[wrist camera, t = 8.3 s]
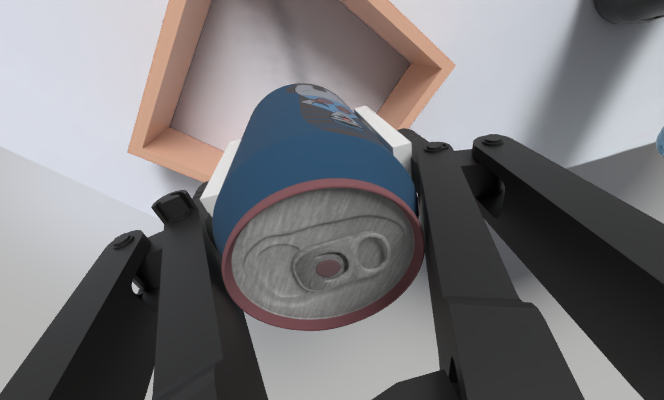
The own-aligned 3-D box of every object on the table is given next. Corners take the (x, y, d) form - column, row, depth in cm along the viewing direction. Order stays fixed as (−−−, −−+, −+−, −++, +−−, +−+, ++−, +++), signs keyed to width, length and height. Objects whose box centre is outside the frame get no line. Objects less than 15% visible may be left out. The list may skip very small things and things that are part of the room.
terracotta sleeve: (422, 60, 30) (455, 65, 24) (322, 203, 39) (330, 232, 33) (233, -110, 21) (214, -168, 15) (157, 129, 29) (127, 152, 24)
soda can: (273, 192, 19) (261, 361, 9) (230, 99, 15) (125, 215, 5) (360, 165, 19) (445, 306, 9) (340, 65, 15) (449, 117, 5)
